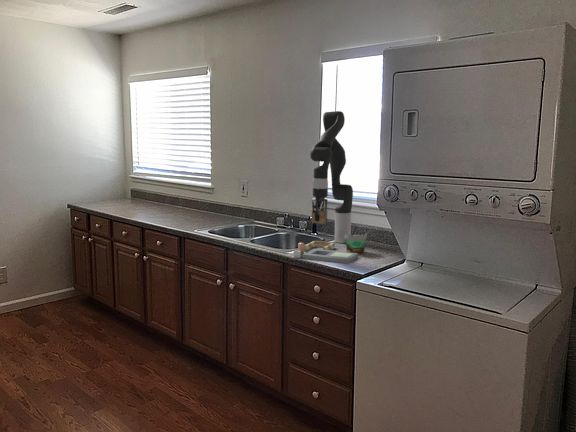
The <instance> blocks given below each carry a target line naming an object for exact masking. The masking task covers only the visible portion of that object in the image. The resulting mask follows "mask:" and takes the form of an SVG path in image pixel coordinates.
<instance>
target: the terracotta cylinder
mask: <svg viewBox="0 0 576 432" xmlns="http://www.w3.org/2000/svg"><path fill="white" fill-rule="evenodd" d="M304 245H305V243H304V242H298V243H297V250H301V256H303V254H304V253H305V251H304Z"/></svg>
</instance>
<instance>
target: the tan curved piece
mask: <svg viewBox="0 0 576 432" xmlns="http://www.w3.org/2000/svg"><path fill="white" fill-rule="evenodd" d="M335 244H336V242H331V241H322V240H313V241H311V242H309V243H307V244H304V252H306V251H307V252H308V251H310V250H312V249H314V248H315V247H317V248H318V247H319V248H322V249H324V250H334V249H335Z"/></svg>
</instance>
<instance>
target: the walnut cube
mask: <svg viewBox="0 0 576 432" xmlns="http://www.w3.org/2000/svg"><path fill="white" fill-rule="evenodd" d="M311 223H312V224H321V225H323V224H326V223H328V210H327V211H325V210H320V213H319V221H315V214H314V213H313V210H312V211H311Z"/></svg>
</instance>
